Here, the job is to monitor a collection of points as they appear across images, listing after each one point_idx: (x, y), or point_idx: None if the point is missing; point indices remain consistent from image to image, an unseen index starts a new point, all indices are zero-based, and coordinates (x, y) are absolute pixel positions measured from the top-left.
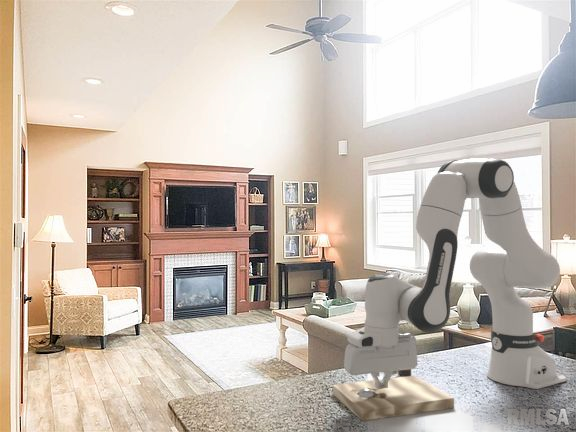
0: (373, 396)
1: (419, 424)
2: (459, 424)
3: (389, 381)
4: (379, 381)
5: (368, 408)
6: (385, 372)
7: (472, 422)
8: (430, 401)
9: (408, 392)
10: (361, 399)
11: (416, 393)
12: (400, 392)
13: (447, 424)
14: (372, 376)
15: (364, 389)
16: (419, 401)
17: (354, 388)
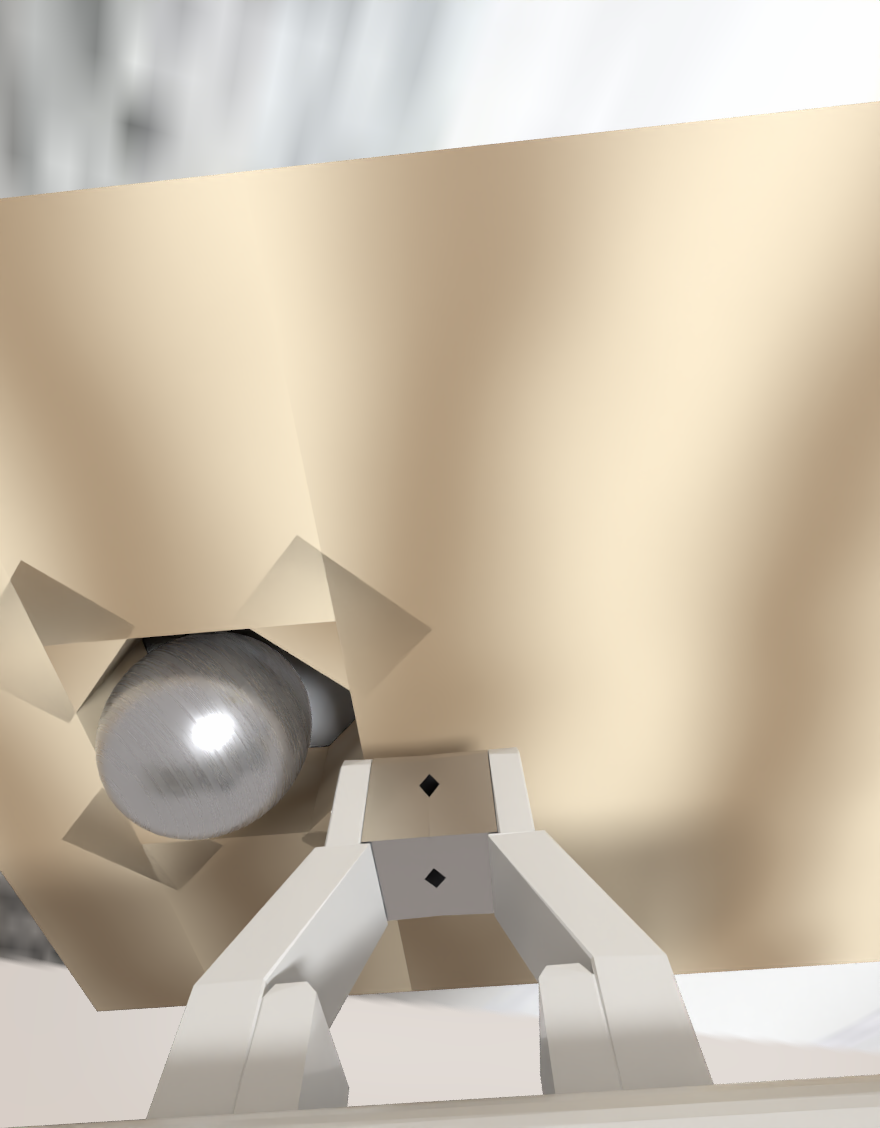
0: (302, 766)
1: (527, 990)
2: (770, 1017)
3: (852, 315)
4: (368, 945)
5: (158, 994)
6: (547, 1075)
7: (871, 1012)
8: (802, 964)
9: (773, 784)
10: (119, 852)
11: (838, 820)
12: (678, 768)
13: (700, 1009)
14: (236, 960)
15: (145, 821)
16: (701, 959)
17: (58, 527)
